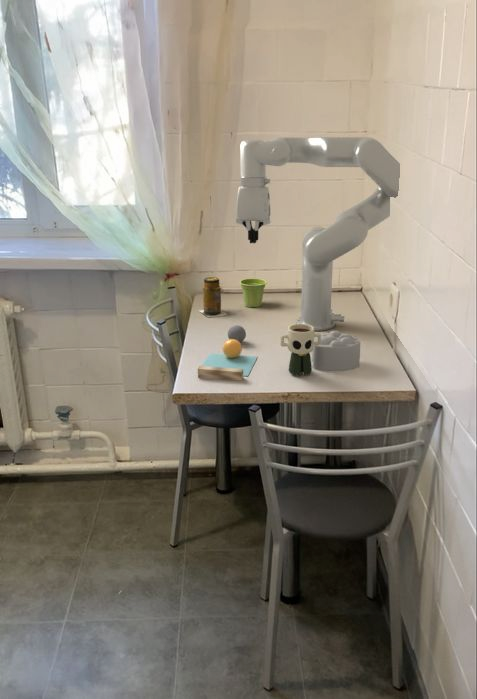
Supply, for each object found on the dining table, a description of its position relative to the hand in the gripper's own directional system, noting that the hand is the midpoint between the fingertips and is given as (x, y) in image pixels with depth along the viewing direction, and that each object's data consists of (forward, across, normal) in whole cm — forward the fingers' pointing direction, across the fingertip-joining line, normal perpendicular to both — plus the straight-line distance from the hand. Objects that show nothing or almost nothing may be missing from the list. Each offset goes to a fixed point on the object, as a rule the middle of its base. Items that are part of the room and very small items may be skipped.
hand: (253, 242), depth 207 cm
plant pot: (+27, +4, -20) cm, 34 cm away
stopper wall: (+27, 0, +44) cm, 52 cm away
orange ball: (+24, 0, +30) cm, 38 cm away
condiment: (+27, +16, -9) cm, 33 cm away
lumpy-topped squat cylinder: (+27, -29, +29) cm, 49 cm away
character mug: (+27, -20, +37) cm, 50 cm away
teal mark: (+27, 0, +35) cm, 44 cm away
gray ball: (+24, +2, +18) cm, 30 cm away
